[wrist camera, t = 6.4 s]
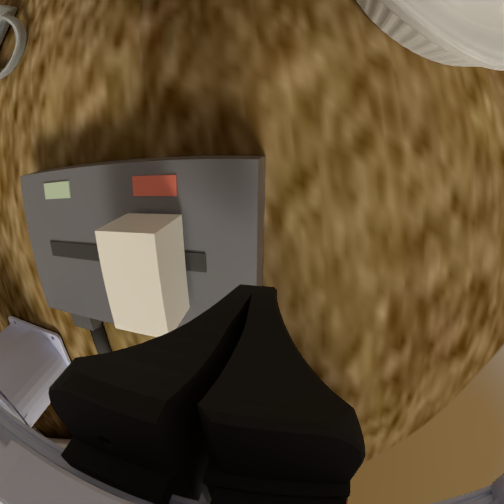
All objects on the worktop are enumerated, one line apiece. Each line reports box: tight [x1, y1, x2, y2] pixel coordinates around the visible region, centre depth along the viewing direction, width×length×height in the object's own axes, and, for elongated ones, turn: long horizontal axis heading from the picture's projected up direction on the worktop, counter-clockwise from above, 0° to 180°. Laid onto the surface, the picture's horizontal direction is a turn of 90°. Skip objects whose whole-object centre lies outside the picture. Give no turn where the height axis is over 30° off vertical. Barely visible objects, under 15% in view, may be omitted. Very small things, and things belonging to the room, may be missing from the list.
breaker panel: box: [20, 155, 265, 354], centre depth 18 cm, size 16×19×3 cm
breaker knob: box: [95, 213, 190, 337], centre depth 13 cm, size 3×5×3 cm, turn 0°
